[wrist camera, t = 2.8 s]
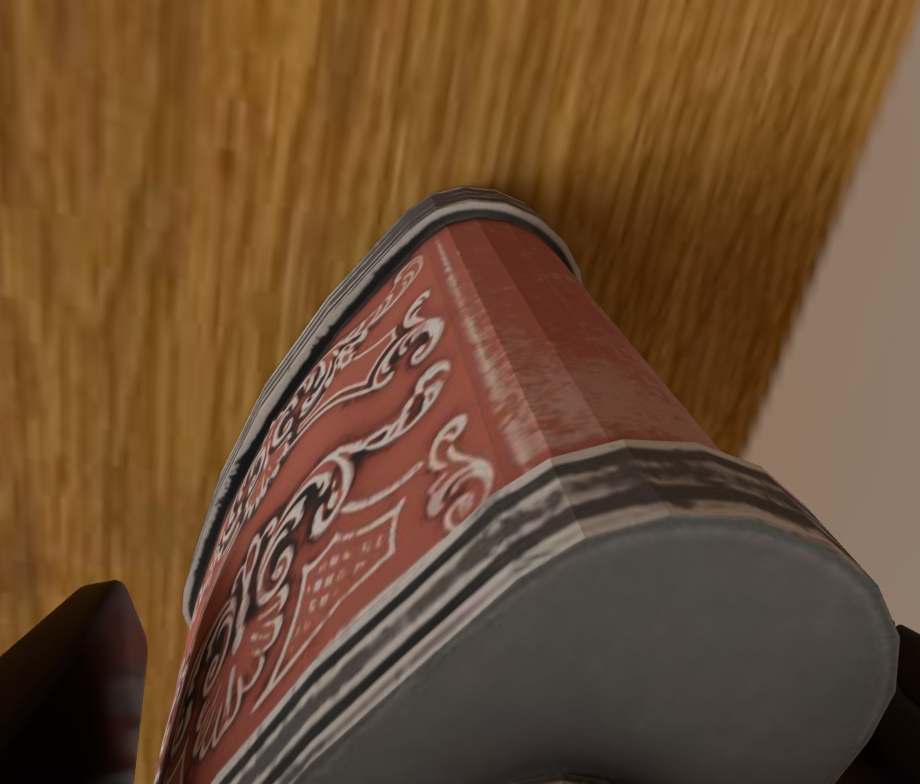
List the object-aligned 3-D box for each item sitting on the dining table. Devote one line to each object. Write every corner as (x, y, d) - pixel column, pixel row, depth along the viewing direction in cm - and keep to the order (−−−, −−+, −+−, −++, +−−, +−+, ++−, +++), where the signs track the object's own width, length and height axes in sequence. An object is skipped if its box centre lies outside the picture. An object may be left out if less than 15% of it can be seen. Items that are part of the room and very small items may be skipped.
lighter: (334, 661, 14) (323, 1894, 5) (142, 588, 13) (-342, 2037, 4) (622, 267, 11) (1691, 1289, 2) (417, 132, 10) (981, 1126, 1)
